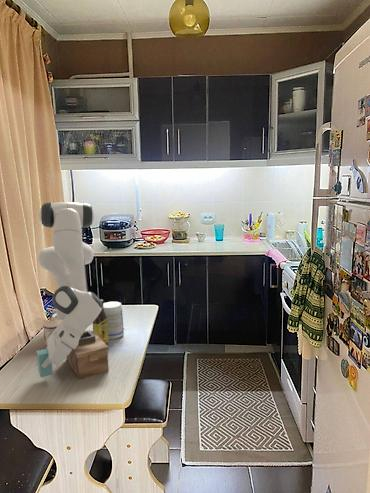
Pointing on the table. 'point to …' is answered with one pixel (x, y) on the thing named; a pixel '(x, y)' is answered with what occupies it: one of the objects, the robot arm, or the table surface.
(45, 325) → the teacup with lid
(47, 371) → the teal rectangular block
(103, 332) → the sauce bottle
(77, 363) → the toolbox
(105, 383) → the table surface
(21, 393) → the table surface
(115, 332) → the supplement tub
